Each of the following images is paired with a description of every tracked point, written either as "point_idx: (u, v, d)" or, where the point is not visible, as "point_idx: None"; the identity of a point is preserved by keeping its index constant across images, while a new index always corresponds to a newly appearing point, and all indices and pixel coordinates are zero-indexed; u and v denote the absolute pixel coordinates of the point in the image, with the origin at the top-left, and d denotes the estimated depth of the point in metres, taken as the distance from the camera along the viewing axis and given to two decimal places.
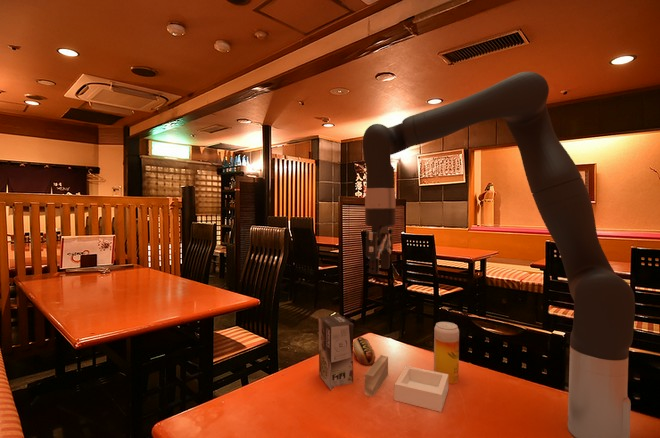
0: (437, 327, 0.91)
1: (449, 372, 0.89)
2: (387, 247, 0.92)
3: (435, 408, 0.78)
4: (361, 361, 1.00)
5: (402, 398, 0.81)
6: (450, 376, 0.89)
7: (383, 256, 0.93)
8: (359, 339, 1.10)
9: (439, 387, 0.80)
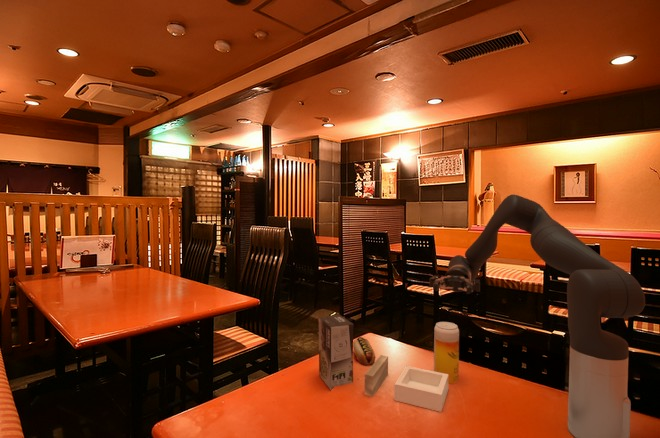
0: (437, 327, 0.91)
1: (449, 372, 0.89)
2: (465, 282, 1.05)
3: (435, 408, 0.78)
4: (361, 361, 1.00)
5: (402, 398, 0.81)
6: (450, 376, 0.89)
7: None
8: (359, 339, 1.10)
9: (439, 387, 0.80)
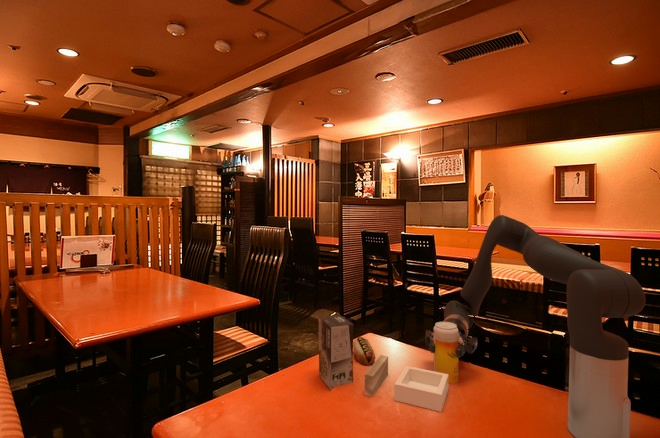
0: (436, 327, 0.91)
1: (449, 372, 0.89)
2: None
3: (435, 408, 0.78)
4: (361, 361, 1.00)
5: (402, 398, 0.81)
6: (450, 375, 0.89)
7: None
8: (359, 339, 1.10)
9: (439, 387, 0.80)
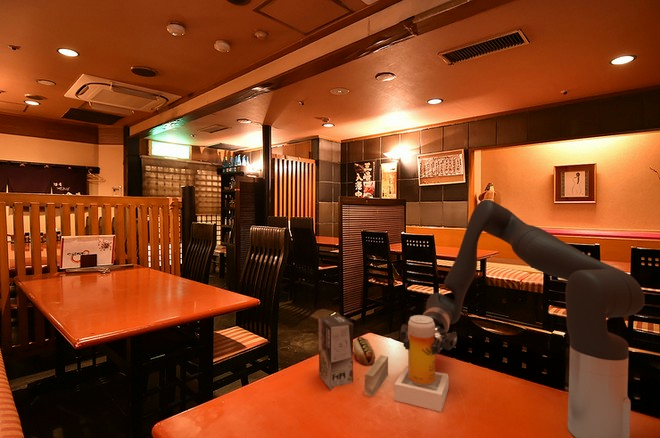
0: (411, 321, 0.83)
1: (424, 371, 0.81)
2: None
3: (435, 408, 0.78)
4: (361, 361, 1.00)
5: (402, 398, 0.81)
6: (425, 374, 0.81)
7: None
8: (359, 339, 1.10)
9: (439, 387, 0.80)
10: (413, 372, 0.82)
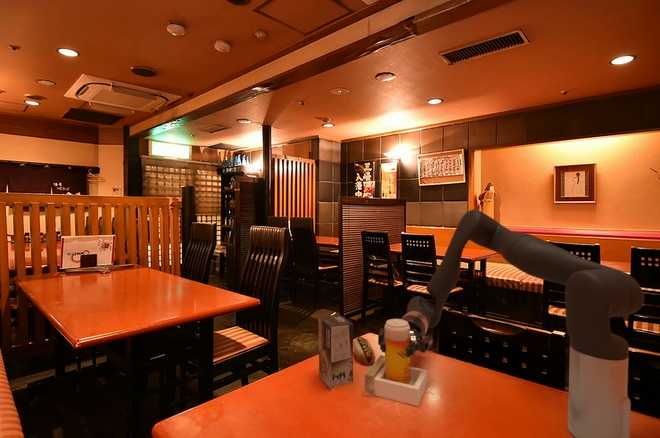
0: (386, 325, 0.86)
1: (399, 373, 0.84)
2: (410, 339, 0.89)
3: (412, 402, 0.80)
4: (361, 361, 1.00)
5: (381, 393, 0.83)
6: (401, 376, 0.84)
7: None
8: (359, 339, 1.10)
9: (417, 382, 0.82)
10: (389, 374, 0.85)
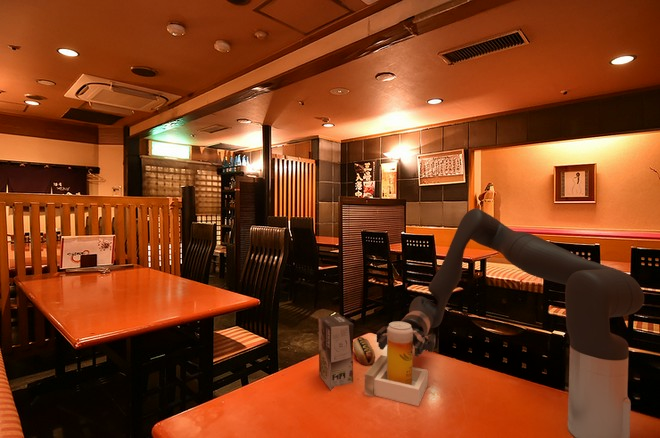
0: (389, 327, 0.86)
1: (401, 375, 0.84)
2: (416, 338, 0.88)
3: (412, 402, 0.80)
4: (361, 361, 1.00)
5: (381, 393, 0.83)
6: (402, 379, 0.84)
7: None
8: (359, 339, 1.10)
9: (417, 382, 0.82)
10: (390, 377, 0.85)
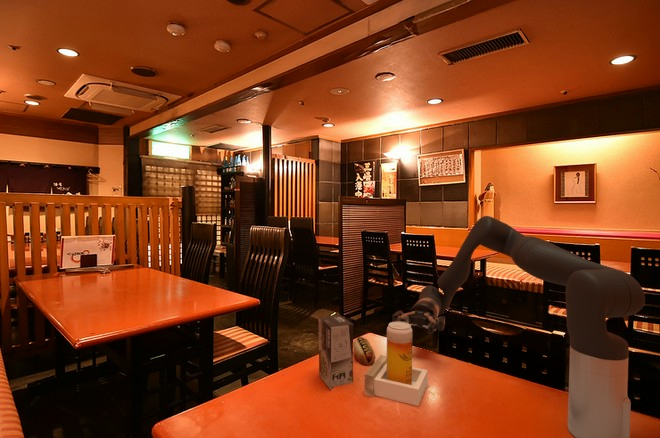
0: (389, 327, 0.86)
1: (401, 376, 0.84)
2: (428, 319, 1.01)
3: (412, 402, 0.80)
4: (361, 361, 1.00)
5: (381, 393, 0.83)
6: (402, 379, 0.84)
7: None
8: (359, 339, 1.10)
9: (417, 382, 0.82)
10: (390, 377, 0.85)
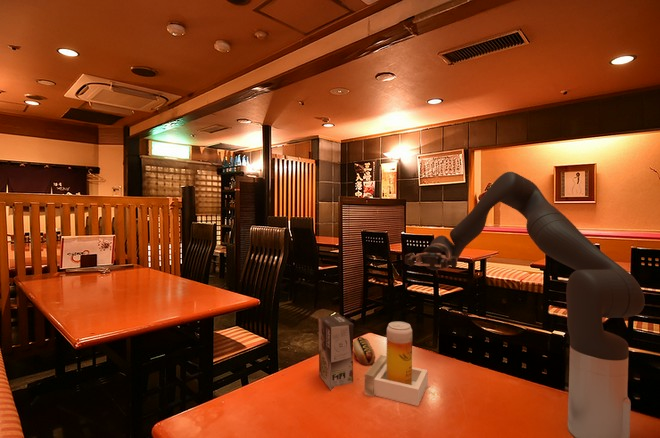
0: (389, 327, 0.86)
1: (400, 376, 0.84)
2: (441, 257, 1.00)
3: (412, 402, 0.80)
4: (361, 361, 1.00)
5: (381, 393, 0.83)
6: (402, 379, 0.84)
7: None
8: (359, 339, 1.10)
9: (417, 382, 0.82)
10: (390, 377, 0.85)
